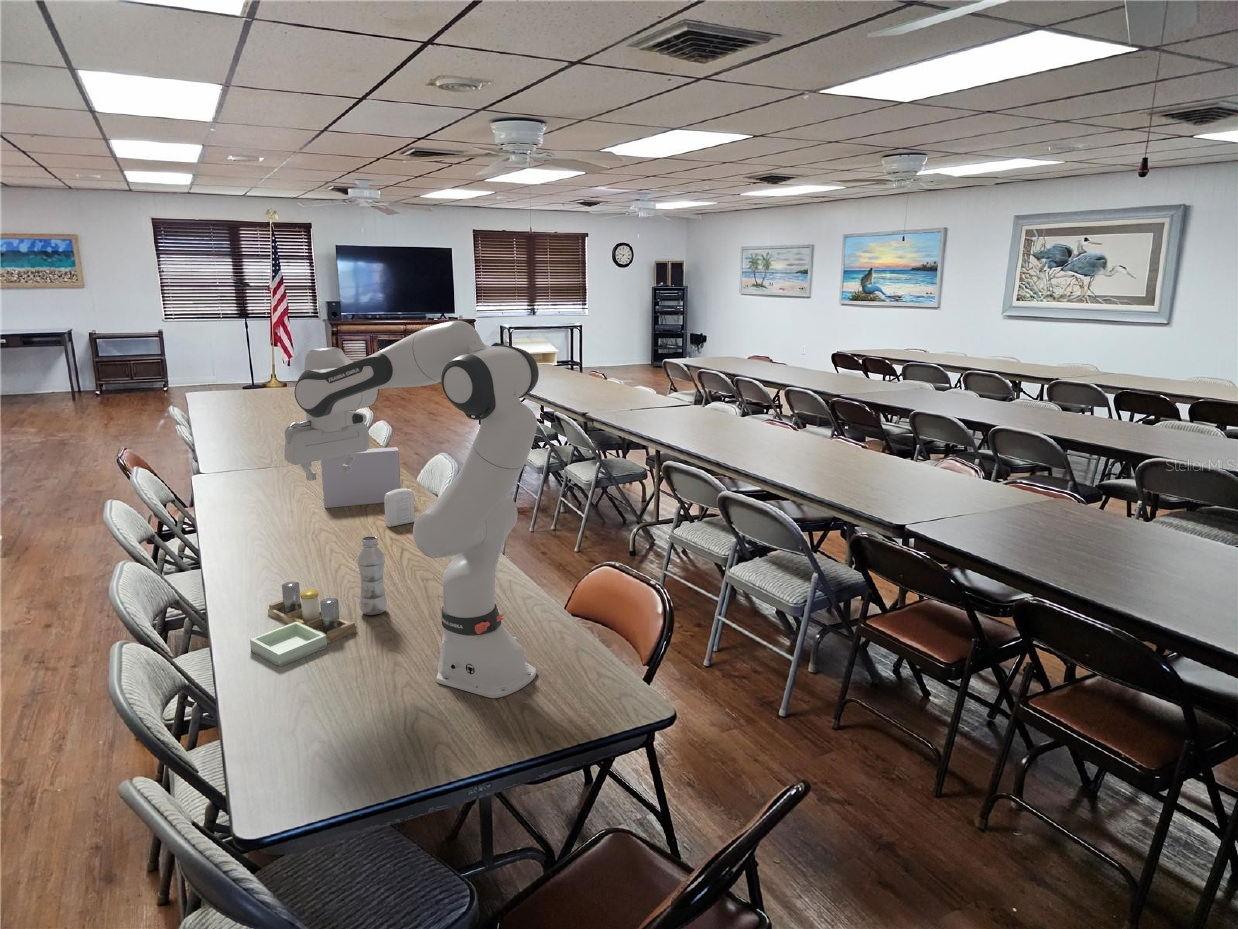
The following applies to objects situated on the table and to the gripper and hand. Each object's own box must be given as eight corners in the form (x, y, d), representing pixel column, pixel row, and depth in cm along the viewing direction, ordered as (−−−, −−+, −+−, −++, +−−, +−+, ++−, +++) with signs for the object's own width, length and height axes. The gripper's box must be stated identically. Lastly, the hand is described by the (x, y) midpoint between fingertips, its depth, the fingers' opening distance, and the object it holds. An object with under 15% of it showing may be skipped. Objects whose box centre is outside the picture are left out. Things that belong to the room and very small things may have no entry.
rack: (356, 631, 182) (356, 622, 182) (328, 643, 176) (327, 633, 176) (296, 604, 196) (295, 595, 196) (268, 614, 190) (267, 605, 189)
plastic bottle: (359, 609, 195) (354, 535, 190) (386, 605, 197) (382, 533, 192) (360, 619, 189) (355, 544, 184) (388, 616, 191) (384, 541, 186)
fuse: (324, 622, 187) (321, 592, 185) (309, 628, 184) (306, 597, 182) (314, 617, 189) (312, 588, 187) (299, 623, 186) (296, 593, 184)
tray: (326, 647, 175) (326, 635, 174) (280, 667, 165) (278, 654, 165) (297, 633, 181) (296, 621, 180) (250, 651, 172) (249, 639, 171)
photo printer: (410, 519, 266) (409, 485, 263) (416, 522, 263) (415, 488, 260) (383, 525, 259) (381, 490, 256) (389, 528, 256) (387, 493, 253)
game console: (323, 504, 280) (319, 451, 275) (398, 497, 291) (396, 446, 286) (324, 508, 275) (320, 455, 270) (401, 501, 286) (399, 450, 281)
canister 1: (304, 613, 191) (302, 584, 189) (290, 619, 188) (287, 589, 186) (295, 609, 193) (293, 580, 191) (281, 614, 190) (278, 585, 188)
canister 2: (343, 631, 182) (341, 600, 180) (329, 637, 179) (326, 606, 177) (333, 626, 185) (331, 596, 183) (319, 632, 181) (316, 601, 179)
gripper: (293, 426, 163) (296, 487, 167) (372, 414, 179) (374, 470, 183) (276, 421, 167) (280, 482, 170) (355, 410, 183) (357, 465, 186)
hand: (329, 475), depth 177 cm, fingers open, 8 cm apart
